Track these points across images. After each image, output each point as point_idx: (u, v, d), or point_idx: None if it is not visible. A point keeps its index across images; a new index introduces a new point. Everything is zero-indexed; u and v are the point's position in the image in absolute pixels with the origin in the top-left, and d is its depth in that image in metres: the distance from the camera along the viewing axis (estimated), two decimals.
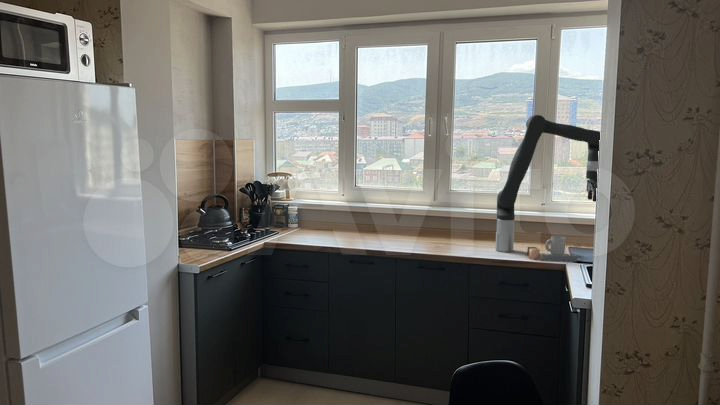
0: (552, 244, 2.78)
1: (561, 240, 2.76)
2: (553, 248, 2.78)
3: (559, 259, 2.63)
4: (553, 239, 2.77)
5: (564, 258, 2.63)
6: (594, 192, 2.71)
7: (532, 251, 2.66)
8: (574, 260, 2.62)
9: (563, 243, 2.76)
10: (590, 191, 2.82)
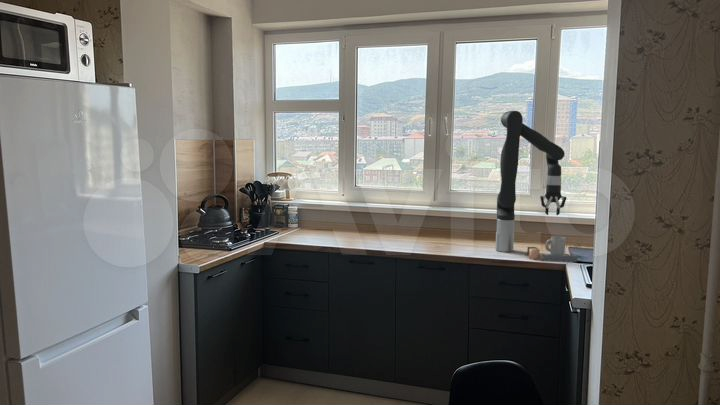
0: (552, 244, 2.78)
1: (561, 240, 2.76)
2: (553, 248, 2.78)
3: (559, 259, 2.63)
4: (553, 239, 2.77)
5: (564, 258, 2.63)
6: (562, 206, 2.87)
7: (532, 251, 2.66)
8: (574, 260, 2.62)
9: (563, 243, 2.76)
10: (547, 206, 2.90)
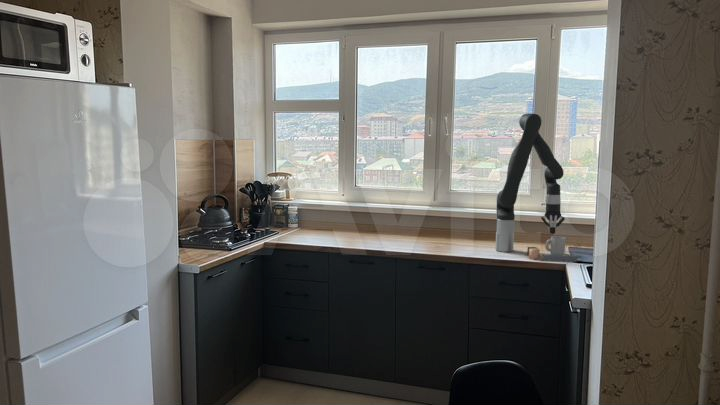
0: (552, 244, 2.78)
1: (561, 240, 2.76)
2: (553, 248, 2.78)
3: (559, 259, 2.63)
4: (553, 239, 2.77)
5: (564, 258, 2.63)
6: (558, 225, 2.88)
7: (532, 251, 2.66)
8: (574, 260, 2.62)
9: (563, 243, 2.76)
10: (551, 226, 2.90)
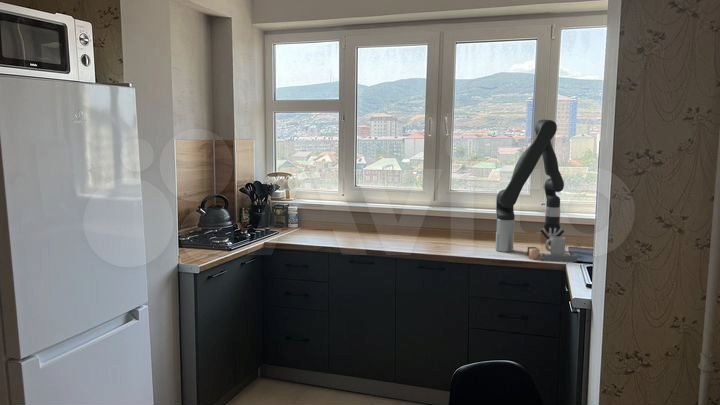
0: (552, 244, 2.78)
1: (561, 240, 2.76)
2: (553, 248, 2.78)
3: (559, 259, 2.63)
4: (553, 239, 2.77)
5: (564, 258, 2.63)
6: None
7: (532, 251, 2.66)
8: (574, 260, 2.62)
9: (563, 243, 2.76)
10: (550, 238, 2.90)
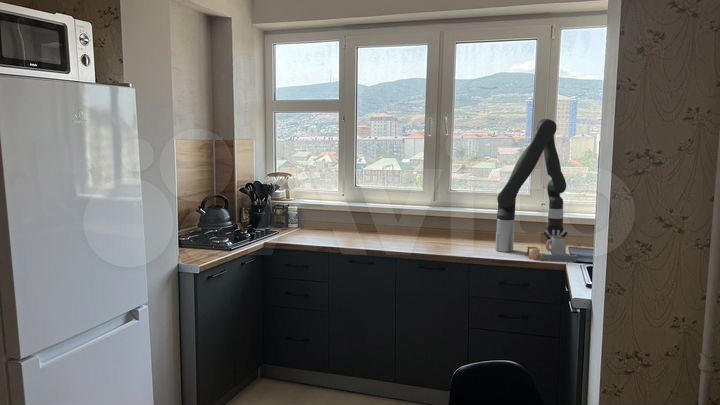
0: (552, 244, 2.77)
1: (561, 240, 2.74)
2: (553, 248, 2.77)
3: (559, 259, 2.63)
4: (553, 239, 2.77)
5: (564, 258, 2.63)
6: None
7: (532, 251, 2.66)
8: (574, 260, 2.62)
9: (563, 243, 2.75)
10: None
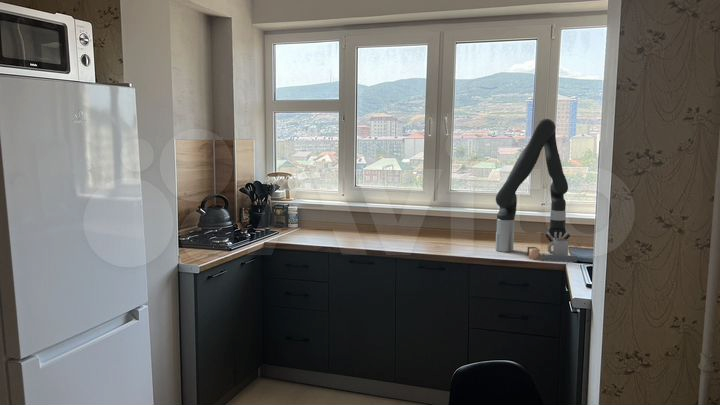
0: (554, 247, 2.71)
1: (563, 243, 2.68)
2: (555, 251, 2.70)
3: (559, 259, 2.63)
4: (555, 242, 2.70)
5: (564, 258, 2.63)
6: None
7: (532, 251, 2.66)
8: (574, 260, 2.62)
9: (566, 246, 2.69)
10: None
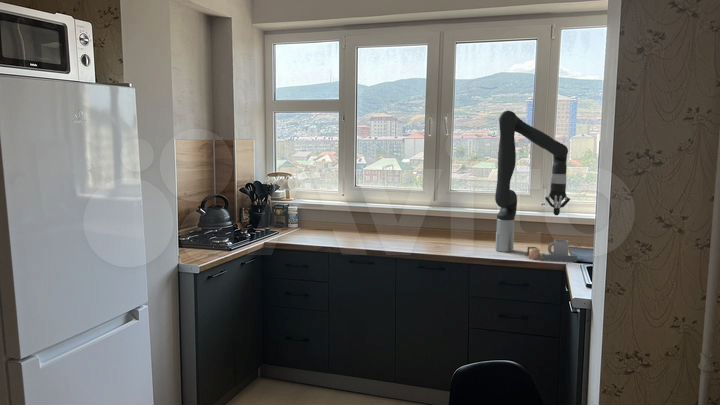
0: (555, 247, 2.70)
1: (564, 243, 2.67)
2: (556, 251, 2.69)
3: (559, 259, 2.63)
4: (556, 242, 2.69)
5: (564, 258, 2.63)
6: (562, 206, 2.76)
7: (532, 251, 2.66)
8: (574, 260, 2.62)
9: (566, 246, 2.68)
10: None
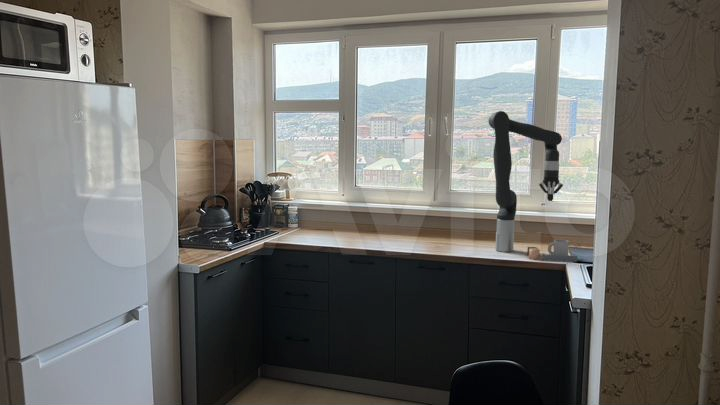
0: (555, 247, 2.70)
1: (564, 243, 2.67)
2: (556, 251, 2.69)
3: (559, 259, 2.63)
4: (556, 242, 2.69)
5: (564, 258, 2.63)
6: (556, 192, 2.87)
7: (532, 251, 2.66)
8: (574, 260, 2.62)
9: (566, 246, 2.68)
10: (549, 192, 2.89)
